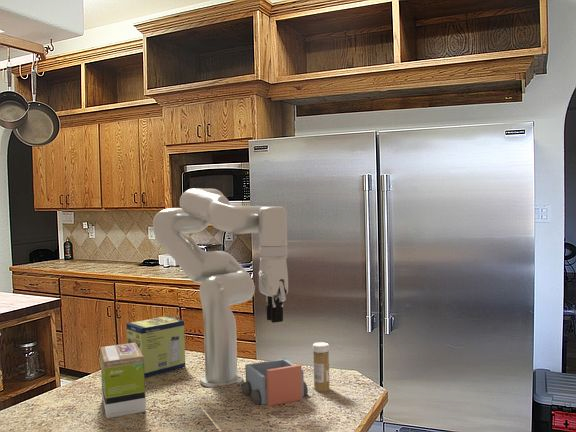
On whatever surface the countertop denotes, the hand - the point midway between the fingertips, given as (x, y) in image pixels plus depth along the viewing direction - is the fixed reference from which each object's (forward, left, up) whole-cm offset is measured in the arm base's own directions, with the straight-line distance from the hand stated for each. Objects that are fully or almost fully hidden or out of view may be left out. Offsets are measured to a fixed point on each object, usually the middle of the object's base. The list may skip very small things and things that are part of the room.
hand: (274, 320), depth 142 cm
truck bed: (-1, 0, -21) cm, 21 cm away
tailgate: (+5, 0, -20) cm, 21 cm away
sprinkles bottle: (+2, +13, -21) cm, 25 cm away
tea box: (-14, -38, -21) cm, 46 cm away
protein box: (-41, -24, -21) cm, 53 cm away
